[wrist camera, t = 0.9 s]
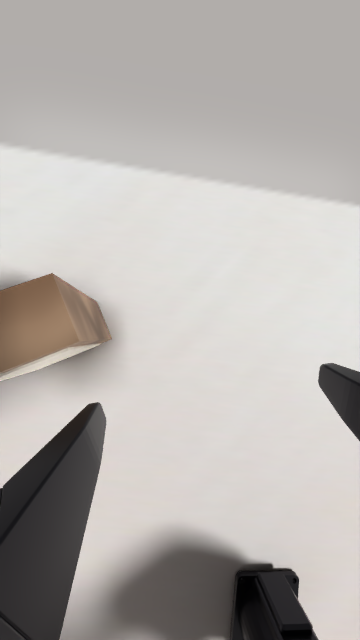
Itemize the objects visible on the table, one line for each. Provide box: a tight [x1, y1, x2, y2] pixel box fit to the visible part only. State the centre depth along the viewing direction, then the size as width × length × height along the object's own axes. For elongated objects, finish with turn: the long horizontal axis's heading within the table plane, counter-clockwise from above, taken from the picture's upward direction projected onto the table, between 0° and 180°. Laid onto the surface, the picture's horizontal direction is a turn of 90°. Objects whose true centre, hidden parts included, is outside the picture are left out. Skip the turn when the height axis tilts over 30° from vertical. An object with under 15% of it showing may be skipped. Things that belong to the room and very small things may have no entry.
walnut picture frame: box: [0, 273, 112, 381], centre depth 16 cm, size 4×8×10 cm, turn 112°
